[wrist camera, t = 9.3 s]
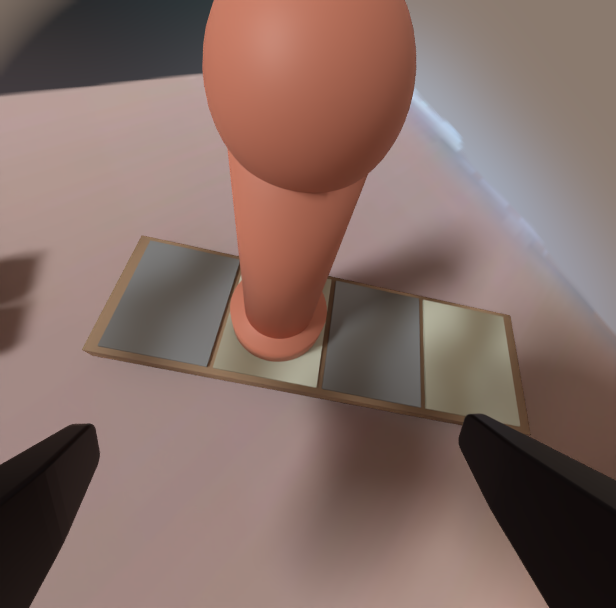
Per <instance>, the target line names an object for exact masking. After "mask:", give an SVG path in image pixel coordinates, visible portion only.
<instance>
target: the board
mask: <svg viewBox="0 0 616 608" xmlns="http://www.w3.org/2000/svg"><path fill="white" fill-rule="evenodd" d="M241 280H242V278H241V268H240V259H239V256H234V255H230V254H225V253H220V252H216V251H211V250H207V249H202V248H197V247H193V246H188V245H184V244H179V243H175V242H170V241H165V240H161V239H156V238H152V237H147V236H141V238H140V240H139V242H138V244H137V246H136V248H135V250H134V251H133V253H132V255H131V257H130V259H129V261H128V263H127V265H126V267H125V269H124V270H123V272H122V274H121V276H120V278H119V280H118V282H117V284H116V286H115V288H114V290H113V291H112V293H111V295H110V297H109V299H108V301H107V303H106V305H105V307H104V309H103V311H102V312H101V314H100V316H99V318H98V320H97V322H96V324H95V326H94V328H93V330H92V332H91V333H90V335H89V337H88V339H87V341H86V343H85V345H84V347H83V349H82V350H83V351H85V352H87V353H89V354H91V355H92V356H98V357H103V358H108V359H114V360H119V361H124V362H130V363H135V364H140V365H145V366H151V367H156V368H161V369H167V370H172V371H177V372H182V373H188V374H193V375H198V376H204V377H209V378H214V379H220V380H225V381H230V382H235V383H241V384H246V385H251V386H257V387H262V388H267V389H273V390H278V391H283V392H288V393H294V394H299V395H304V396H310V397H315V398H320V399H325V400H331V401H336V402H341V403H347V404H352V405H357V406H363V407H368V408H373V409H378V410H384V411H389V412H394V413H400V414H405V415H410V416H416V417H421V418H426V419H431V420H437V421H442V422H447V423H453V424H458V425H463V422H464V418H465V417H466V415H467V414H475V413H482V414H485V415H487V416H489V417H491V418H493V419H495V420H497V421H499V422H501V423H503V424H505V425H507V426H509V427H511V428H513V429H515V430H517V431H519V432H521V433H523V434H525V435H531V434H530V428H529V422H528V417H527V411H526V405H525V399H524V393H523V387H522V382H521V376H520V370H519V364H518V358H517V352H516V347H515V341H514V335H513V329H512V323H511V317H510V315H505V314H500V313H496V312H491V311H487V310H482V309H477V308H473V307H468V306H464V305H459V304H455V303H450V302H445V301H441V300H436V299H432V298H427V297H422V296H418V295H413V294H409V293H404V292H399V291H395V290H390V289H386V288H381V287H377V286H372V285H367V284H363V283H358V282H354V281H349V280H344V279H340V278H335V277H331V276H328V278H327V280H326V283H325V286H324V288H323V291H322V292H323V294H324V297H325V300H326V305H327V317H326V321H325V324H324V327H323V329H322V331H321V333H320V335H319V337H318V339H317V340H316V342H315V344H314V345H313V346H312V347H311V348H310V349H309V350H308V351H307V352H306V353H304V354H303V355H301V356H300V357H298V358H295V359H292V360H289V361H283V362H272V361H266V360H263V359H260V358H258V357H256V356H254V355H252V354H251V353H249V352H248V351H247V350H246V349H245V348H244V347H243V346H242V345H241V344H240V342H239V341H238V339H237V337H236V335H235V332H234V329H233V324H232V319H231V314H230V303H231V298H232V295H233V293H234V290H235V289H236V287H237V285H238V284H239V283H240V282H241Z"/></svg>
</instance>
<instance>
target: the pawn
mask: <svg viewBox="0 0 616 608" xmlns="http://www.w3.org/2000/svg"><path fill="white" fill-rule="evenodd" d="M415 76H416V46H415V38H414V30H413V25H412V22H411V18H410V14H409V10H408V7H407V5H406V2H405V0H214V2H213V5H212V8H211V11H210V15H209V19H208V22H207V25H206V31H205V37H204V43H203V78H204V87H205V92H206V96H207V101H208V106H209V109H210V112H211V115H212V118H213V121H214V123H215V126H216V128H217V130H218V132H219V134H220V136H221V138H222V140H223V142H224V143H225V145H226V146H227V148H228V156H229V166H230V175H231V184H232V194H233V203H234V212H235V222H236V231H237V240H238V250H239V259H240V268H241V278H242V280H241V282H240V283H239V284H238V285H237V287H236V289H235V290H234V293H233V295H232V298H231V303H230V314H231V319H232V324H233V329H234V332H235V335H236V337H237V339H238V341H239V342H240V344H241V345H242V346H243V347H244V348H245V349H246V350H247V351H248V352H249V353H251V354H252V355H254V356H256V357H258V358H260V359H263V360H266V361H272V362H283V361H289V360H292V359H295V358H298V357H300V356H301V355H303V354H304V353H306V352H307V351H308V350H309V349H310V348H311V347H312V346H313V345H314V344H315V342H316V340H317V339H318V337H319V335H320V333H321V331H322V329H323V327H324V324H325V321H326V317H327V305H326V300H325V297H324V294H323V292H322V291H323V288H324V286H325V283H326V280H327V278H328V275H329V273H330V270H331V268H332V265H333V262H334V260H335V257H336V255H337V252H338V250H339V247H340V244H341V242H342V239H343V237H344V234H345V232H346V229H347V226H348V224H349V221H350V219H351V216H352V214H353V211H354V209H355V206H356V203H357V201H358V198H359V196H360V193H361V191H362V188H363V185H364V183H365V180H366V178H367V175H368V173H369V172H371V171H372V170H373V169H374V168H375V167H376V166H377V165H378V164H379V163H380V161H381V160H382V159H383V158H384V157H385V155H386V154H387V153H388V151H389V150H390V148H391V147H392V145H393V144H394V143H395V141H396V139H397V137H398V135H399V133H400V131H401V129H402V127H403V124H404V122H405V119H406V117H407V114H408V111H409V108H410V104H411V100H412V96H413V91H414V84H415Z"/></svg>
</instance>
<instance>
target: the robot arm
mask: <svg viewBox="0 0 616 608" xmlns="http://www.w3.org/2000/svg"><path fill="white" fill-rule="evenodd" d="M459 446H460V449H461V451H462V453H463V455H464V457H465V459H466V461H467V463H468V465H469V467H470V469H471V471H472V473H473V475H474V477H475V479H476V481H477V483H478V486H479V488H480V490H481V492H482V494H483V496H484V498H485V500H486V502H487V503H488V505H489V507H490V509H491V511H492V513H493V514H494V516H495V518H496V520H497V521H498V523H499V525H500V526H501V528H502V530H503V531H504V533H505V535H506V536H507V538H508V540H509V541H510V543H511V545H512V546H513V548H514V550H515V551H516V553H517V555H518V556H519V558H520V560H521V561H522V563H523V565H524V566H525V568H526V570H527V571H528V573H529V575H530V576H531V578H532V580H533V581H534V583H535V585H536V586H537V588H538V590H539V592H540V593H541V595H542V597H543V598H544V600H545V602H546V603H547V605H548V607H549V608H616V480H614V479H612V478H610V477H608V476H606V475H604V474H602V473H600V472H598V471H596V470H594V469H592V468H590V467H588V466H586V465H584V464H582V463H580V462H578V461H576V460H574V459H572V458H570V457H568V456H566V455H564V454H562V453H560V452H558V451H556V450H554V449H552V448H550V447H548V446H546V445H544V444H542V443H541V442H539V441H537V440H535V439H533V438H531V437H529V436H527V435H525V434H523V433H521V432H519V431H517V430H515V429H513V428H511V427H509V426H507V425H505V424H503V423H501V422H499V421H497V420H495V419H493V418H491V417H489V416H487V415H485V414H482V413H475V414H467V415H466V417H465V418H464V422H463V425H462V428H461V432H460V435H459ZM99 458H100V451H99V445H98V440H97V434H96V429H95V427H94V425H92V424H72V425H69V426H67V427H65V428H64V429H62V430H60V431H58V432H57V433H55V434H53V435H51V436H50V437H48V438H46V439H44V440H43V441H41V442H39V443H37V444H36V445H34V446H32V447H30V448H29V449H27V450H25V451H24V452H22V453H20V454H18V455H17V456H15V457H13V458H11V459H10V460H8V461H6V462H4V463H3V464H1V465H0V608H29V607H30V605H31V603H32V601H33V600H34V598H35V596H36V594H37V592H38V590H39V588H40V587H41V585H42V583H43V581H44V579H45V577H46V576H47V574H48V572H49V570H50V568H51V566H52V564H53V563H54V561H55V559H56V557H57V555H58V553H59V551H60V549H61V547H62V545H63V543H64V541H65V539H66V537H67V535H68V533H69V530H70V528H71V526H72V523H73V521H74V519H75V516H76V514H77V512H78V510H79V507H80V505H81V503H82V500H83V498H84V496H85V493H86V491H87V489H88V486H89V484H90V482H91V479H92V477H93V475H94V472H95V470H96V468H97V465H98V462H99Z"/></svg>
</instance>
